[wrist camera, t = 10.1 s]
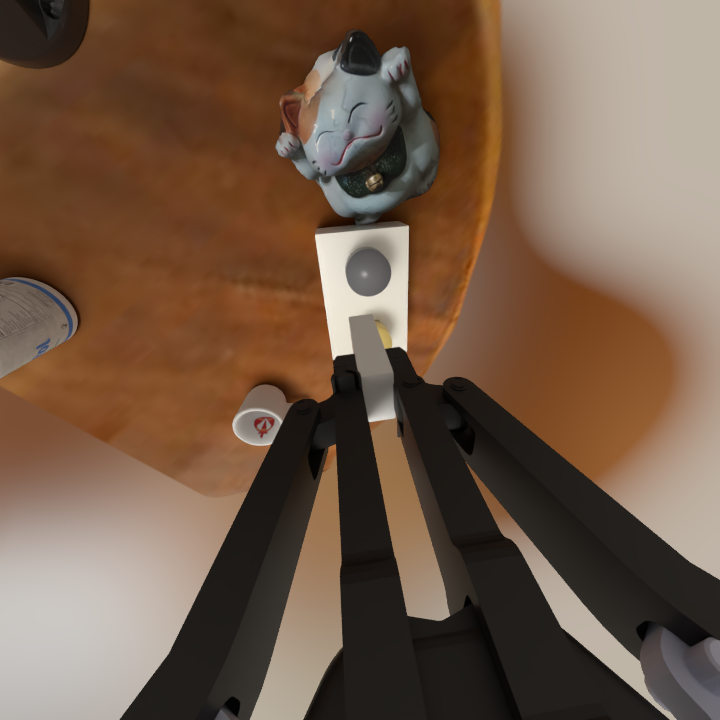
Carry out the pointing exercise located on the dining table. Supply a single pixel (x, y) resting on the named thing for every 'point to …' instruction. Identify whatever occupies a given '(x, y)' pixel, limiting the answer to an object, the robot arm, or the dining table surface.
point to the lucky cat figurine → (361, 129)
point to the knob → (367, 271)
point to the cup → (261, 415)
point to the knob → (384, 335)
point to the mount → (347, 303)
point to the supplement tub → (31, 321)
